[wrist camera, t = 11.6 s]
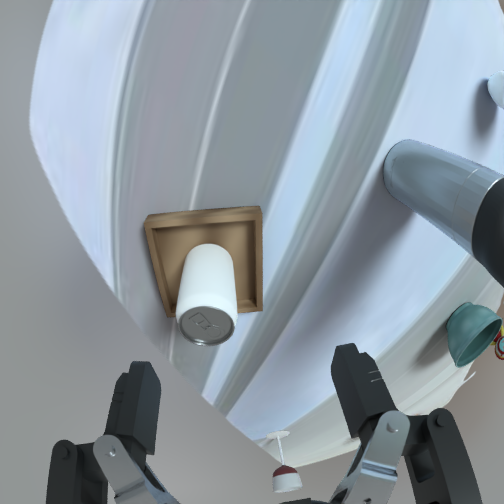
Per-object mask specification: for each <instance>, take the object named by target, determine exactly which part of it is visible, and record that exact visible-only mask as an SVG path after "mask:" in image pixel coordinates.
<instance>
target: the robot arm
mask: <svg viewBox="0 0 504 504" xmlns="http://www.w3.org/2000/svg"><path fill="white" fill-rule="evenodd" d="M383 176H384V182H385V185H386V188H387V190H388V191H389V193H390V194H391V195H392V196H393V197H395V198H396V199H398V200H399V201H401V202H402V203H403V204H405V205H406V206H408V207H409V208H411V209H412V210H413V211H415V212H416V213H418V214H419V215H420V216H422V217H423V218H425V219H426V220H427V221H429V222H430V223H431V224H433V225H434V226H435V227H437V228H438V229H439V230H441V231H442V232H443V233H445V234H446V235H447V236H448V237H450V238H451V239H452V240H453V241H455V242H456V243H457V244H458V245H460V246H461V247H462V248H463V249H465V250H466V251H467V252H468V253H469V254H471V255H472V256H473V257H474V258H475V259H476V260H478V261H479V262H480V263H481V264H482V265H483V266H484V267H485V268H486V269H487V270H488V272H489V273H490V274H491V275H492V276H493V277H494V278H495V279H496V280H497V281H498V282H499V283H500V284H501V285H502V286H503V287H504V175H502V174H500V173H498V172H496V171H494V170H491V169H489V168H487V167H484V166H482V165H480V164H478V163H475V162H473V161H471V160H468V159H466V158H463V157H461V156H458V155H456V154H453V153H450V152H448V151H445V150H442V149H439V148H436V147H434V146H431V145H428V144H425V143H422V142H418V141H415V140H403V141H401V142H399V143H397V144H396V145H395V146H394V147H393V148H392V149H391V150H390V152H389V154H388V155H387V158H386V160H385V164H384V171H383ZM331 376H332V380H333V382H334V385H335V388H336V391H337V395H338V398H339V401H340V404H341V407H342V410H343V413H344V416H345V419H346V422H347V425H348V429H349V432H350V435H351V438H355V437H359V438H360V441H361V443H360V445H359V447H358V450H357V452H356V454H355V456H354V458H353V461H352V462H351V465H350V467H349V469H348V471H347V473H346V475H345V476H344V478H343V480H342V481H341V482H340V484H339V485H338V487H337V488H336V490H335V492H334V494H333V495H332V497H331V499H330V500H329V502H328V503H327V502H322V501H315V500H311V498H307V499H302V500H296V501H289V502H283V503H281V504H365V503H366V504H387V502H388V500H389V497H390V495H391V493H392V490H393V488H394V485H395V483H396V480H397V473H396V468H397V465H398V463H399V460H400V457H401V456H404V458H405V462H406V465H407V469H408V472H409V476H410V480H411V484H412V488H413V492H414V496H415V500H416V504H482V500H481V496H480V492H479V488H478V485H477V481H476V478H475V475H474V472H473V468H472V466H471V462H470V459H469V456H468V454H467V451H466V448H465V446H464V443H463V440H462V438H461V435H460V432H459V430H458V427H457V425H456V422H455V420H454V418H453V416H452V414H451V413H450V412H449V411H448V410H447V409H444V408H437V409H435V410H433V411H432V412H431V413H430V414H429V415H419V416H408V415H405V414H404V413H402V412H400V411H399V410H398V409H397V408H396V406H395V405H394V402H393V400H392V398H391V395H390V393H389V391H388V389H387V387H386V384H385V382H384V380H383V379H382V376H381V374H380V371H379V369H378V367H377V365H376V363H375V361H374V359H373V358H371V357H370V356H369V355H368V354H367V353H366V352H364V353H359V351H358V349H357V347H356V345H355V344H354V343H349V344H344V345H339V346H337V347H336V349H335V353H334V357H333V361H332V364H331ZM160 396H161V384H160V381H159V378H158V377H157V375H156V373H155V371H154V369H153V367H152V365H151V363H150V362H142V361H141V362H140V361H133V362H132V363H131V365H130V369H129V373H122V375H121V376H120V377H119V379H118V380H117V382H116V385H115V389H114V394H113V398H112V402H111V406H110V410H109V414H108V419H107V424H106V429H105V432H104V434H103V436H101V437H99V438H98V439H97V440H96V441H95V442H93V443H87V444H79V445H74V444H73V443H72V442H70V441H68V440H60V441H58V442H57V443H56V444H55V446H54V447H53V450H52V456H51V462H50V469H49V477H48V485H47V496H46V504H107V493H108V482H109V483H110V485H111V487H112V488H113V490H114V492H115V497H114V499H115V502H116V504H180V503H179V502H178V501H177V500H176V499H175V498H174V497H173V496H172V495H171V494H170V493H169V492H168V491H167V490H166V489H165V487H164V486H163V485H162V483H161V482H160V481H159V479H158V478H157V477H156V475H155V474H154V473H153V471H152V470H151V468H150V467H149V465H148V464H147V463H146V454H149V455H154V452H155V440H156V430H157V421H158V413H159V405H160Z"/></svg>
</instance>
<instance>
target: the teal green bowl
mask: <svg viewBox="0 0 504 504" xmlns="http://www.w3.org/2000/svg"><path fill="white" fill-rule="evenodd" d="M502 322H503V320H502V318H500V317H499V316H497V315H496V313H494V312H493V311H492V310H491V309H489V308H487V307H484V306H481V305H473V304H472V303H470V302H468V303H465V304H463V305H462V306H460V307H459V308H458V309H457V310H456V311H455V312H454V313H453V315H452V316H451V317H450V319H449V321H448V323H447V326H446V329H447V331H448V347H449V351H450V354H451V356H452V358H453V360H454V363H455V365H456V367H458V368H460V367H463V366H466V365H467V364H469V363H471V362H472V361H473V360H475V359H476V358H477V357H478V356H479V355H480V354H481V353H483V352H484V351H485V350H486V349H487V348H488V346H489V345H490V344H491V343H492V341H493V340H494V339H495V337H496V336H497V334H498V333H499V331H500V329H501V326H502Z"/></svg>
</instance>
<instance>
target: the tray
mask: <svg viewBox="0 0 504 504" xmlns="http://www.w3.org/2000/svg"><path fill="white" fill-rule="evenodd" d="M144 226H145V231H146V236H147V241H148V245H149V250H150V254H151V259H152V263H153V267H154V271H155V275H156V279H157V283H158V287H159V291H160V294H161V298H162V302H163V305H164V309H165V312H166V316H167V317H176V306H177V300H178V294H179V288H180V283H181V277H182V272H183V267H184V262H185V259H186V256H187V254H188V253H189V252H190V251H191V250H192V249H193V248H194V247H196V246H199V245H202V244H215V245H218V246H220V247H222V248H224V249H225V250H226V251H227V252H228V253H229V254H230V256H231V258H232V261H233V268H234V279H235V290H236V301H237V313H246V312H257V311H263V247H262V211H261V209H260V206H247V207H232V208H218V209H205V210H193V211H181V212H170V213H160V214H151V215H148V216H147V218H146V220H145V222H144Z"/></svg>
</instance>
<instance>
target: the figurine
mask: <svg viewBox="0 0 504 504" xmlns="http://www.w3.org/2000/svg"><path fill="white" fill-rule="evenodd" d="M503 333H504V329H503V326H501V329H500V331H499V333H498V334H497V336H496V337H495V339H494V340H493V341H492V343H491V344H490V345H495V354H496V356H497V357H498V358H499V359H501V360H504V336H503Z"/></svg>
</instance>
